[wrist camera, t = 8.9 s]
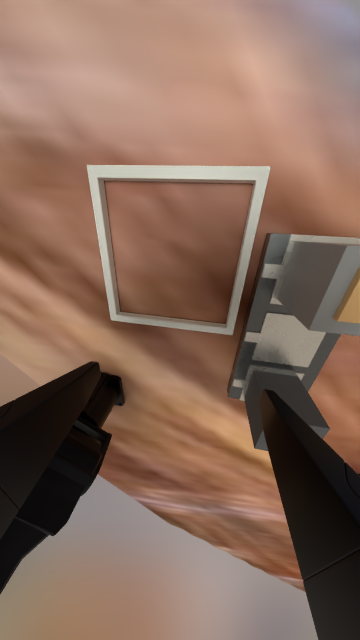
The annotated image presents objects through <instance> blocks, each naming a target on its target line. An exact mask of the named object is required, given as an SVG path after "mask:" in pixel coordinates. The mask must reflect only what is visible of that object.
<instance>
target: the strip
mask: <svg viewBox="0 0 360 640" xmlns="http://www.w3.org/2000/svg"><path fill="white" fill-rule="evenodd" d="M295 241H306V242H326V243H345V244H360V238H351V237H332V236H313V235H294V234H274V233H267V236H266V240H265V244H264V248H263V252H262V255H261V259H260V263H259V267H258V271H257V275H256V279H255V283H254V287H253V291H252V295H251V299H250V303H249V307H248V311H247V315H246V318H245V322H244V326H243V330H242V334H241V338H240V342H239V346H238V350H237V354H236V358H235V362H234V366H233V370H232V374H231V378H230V381H229V385H228V389H227V391H228V397H231V398H237V399H239V400H242V401H245V400H244V397H245V394H246V391H247V388H248V385H249V382H250V379H251V376H252V373H253V370H256V371H263V372H270V373H277V374H284V375H291V376H298V377H299V379H300V380H301V382H302V384H303V385H304V387H305V389H306V390H307V392H308V391H309V389H310V387H311V386H312V384H313V382H314V380H315V379H316V377H317V375H318V373H319V372H320V370H321V368H322V366H323V365H324V363H325V361H326V359H327V358H328V356H329V354H330V352H331V351H332V349H333V347H334V345H335V344H336V342H337V340H338V338H339V337H340V335H341V334H337V333H328V332H319V331H310V330H308V329H307V328H306V327H305V326H304V325H303V324H302V323H301V322H300V321H299V320H298V319H297V318H296V317H295V316H294V315H293V314H292V313H291V312H290V311H289V310H288V309H287V308H286V307H285V306H284V305H283V304H282V303H280V302H279V301H278V300H277V296H278V293H279V290H280V287H281V284H282V281H283V278H284V275H285V272H286V268H287V265H288V262H289V259H290V256H291V253H292V250H293V247H294V244H295Z"/></svg>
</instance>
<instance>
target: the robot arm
mask: <svg viewBox="0 0 360 640" xmlns="http://www.w3.org/2000/svg"><path fill="white" fill-rule="evenodd" d="M123 404H124V398H123V392H122V385H121V379H120V378H119V377H117V376H111V375H105V374H101V371H100V366H99V363H98V362H89V363H87V364H85V365H83V366H81V367H79V368H77V369H75V370H73V371H71V372H69V373H67V374H65V375H63V376H61V377H59V378H57V379H55V380H53V381H51V382H49V383H47V384H45V385H43V386H41V387H39V388H37V389H35V390H33V391H31V392H29V393H27V394H25V395H23V396H21V397H19V398H17V399H16V400H13V401H11V402H9V403H7V404H5V405H3V406H1V407H0V594H1V592H2V591H3V589H4V588H5V586H6V584H7V583H8V581H9V579H10V577H11V576H12V574H13V573H14V571H15V570H16V568H17V566H18V565H19V563H20V562H21V560H22V559H23V558H24V557H25V556H26V555H27V554H28V553H29V552H31V551H32V550H33V549H34V548H35V547H36V546H37V545H38V544H39V543H41V542H42V541H43V540H44V539H45V538H46V537H47V536H48V535H51V536H54V535H56V534H57V533H58V532H59V531H60V529H61V528H62V527H63V526H64V525H65V524H66V523H67V521H68V520H69V518H70V515H71V514H72V512H73V510H74V508H75V506H76V504H77V501H78V500H79V498H80V496H82V495H83V494H84V493H85V492H86V491H87V490H88V489H89V487H90V486H91V485H92V483H93V481H94V479H95V478H96V476H97V474H98V472H99V470H100V468H101V465H102V462H103V460H104V457H105V454H106V451H107V448H108V445H109V443H110V440H111V437H112V434H110V433H107V432H106V431H104V430H102V429H101V428H102V426H103V424H104V422H105V421H106V419H107V417H108V415H109V413H110V412H111V410H112V408H113V406H114V405H118V406H123ZM259 406H260V412H261V419H262V425H263V431H264V436H265V440H266V444H267V448H268V452H269V455H270V459H271V463H272V467H273V470H274V474H275V478H276V482H277V485H278V489H279V493H280V497H281V500H282V504H283V508H284V512H285V515H286V519H287V523H288V527H289V531H290V534H291V538H292V542H293V546H294V549H295V553H296V557H297V561H298V564H299V568H300V572H301V576H302V579H303V580H304V581H303V584H304V587H305V591H306V595H307V599H308V602H309V606H310V610H311V613H312V617H313V621H314V625H315V629H316V632H317V636H318V640H360V476H359V475H358V474H357V473H356V472H355V471H354V470H353V469H352V468H351V467H350V466H349V465H348V464H347V463H346V462H344V460H343V459H342V458H341V457H340V456H339V455H338V454H337V453H336V452H335V451H334V450H333V449H332V448H331V447H330V446H329V445H328V444H327V443H326V442H325V441H324V440H323V439H322V438H321V437H320V436H319V435H318V434H317V433H316V432H315V431H314V430H313V429H312V428H311V427H310V426H309V425H308V424H307V423H306V422H305V421H304V420H303V419H302V418H301V417H300V416H299V415H298V414H297V413H296V412H295V411H294V410H293V409H292V408H291V407H290V406H289V405H288V404H287V403H286V402H285V401H284V400H283V399H282V398H281V397H280V396H279V395H278V394H277V393H276V392H275V391H274V390H272V389H263V391H262V394H261V396H260V399H259Z"/></svg>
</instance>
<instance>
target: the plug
mask: <svg viewBox="0 0 360 640" xmlns="http://www.w3.org/2000/svg"><path fill="white" fill-rule="evenodd" d="M277 300H278V301H279V302H280V303H282V304H283V305H284V306H285V307H286V308H287V309H288V310H289V311H290V312H291V313H292V314H293V315H294V316H295V317H296V318H297V319H298V320H299V321H300V322H301V323H302V324H303V325H304V326H305V327H306V328H307V329H308V330H310V331H319V332H328V333H337V334H346V335H355V336H360V244H345V243H326V242H306V241H295V244H294V247H293V250H292V253H291V256H290V259H289V262H288V265H287V268H286V272H285V275H284V278H283V281H282V284H281V287H280V290H279V293H278V296H277Z"/></svg>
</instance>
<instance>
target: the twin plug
mask: <svg viewBox="0 0 360 640" xmlns="http://www.w3.org/2000/svg"><path fill="white" fill-rule="evenodd" d="M263 389H272V390H274V391H275V392H276V393H277V394H278V395H279V396H280V397H281V398H282V399H283V400H284V401H285V402H286V403H287V404H288V405H289V406H290V407H291V408H292V409H293V410H294V411H295V412H296V413H297V414H298V415H299V416H300V417H301V418H302V419H303V420H304V421H305V422H306V423H307V424H308V425H309V426H310V427H311V428H312V429H313V430H314V431H315V432H316V433H317V434H318V435H319V436H320V437H321V438H322V439H323V437H324V436H325V435H326V434H327V432H328V431H329V430H330V428H329V426H328V425H327V423H326V421H325V420H324V418H323V416H322V415H321V413H320V411H319V410H318V408H317V407H316V405H315V403H314V402H313V400H312V398H311V397H310V395H309V393H308V392H307V390H306V389H305V387H304V385H303V384H302V382H301V380H300V379H299V377H298V376H291V375H284V374H277V373H270V372H263V371H256V370H253V373H252V376H251V379H250V382H249V385H248V388H247V391H246V394H245V397H244V400H245V404H246V409H247V414H248V419H249V424H250V429H251V434H252V439H253V444H254V448H255V449H260V450H265V451H268V448H267V444H266V440H265V436H264V431H263V425H262V419H261V412H260V406H259V399H260V396H261V394H262V391H263Z"/></svg>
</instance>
